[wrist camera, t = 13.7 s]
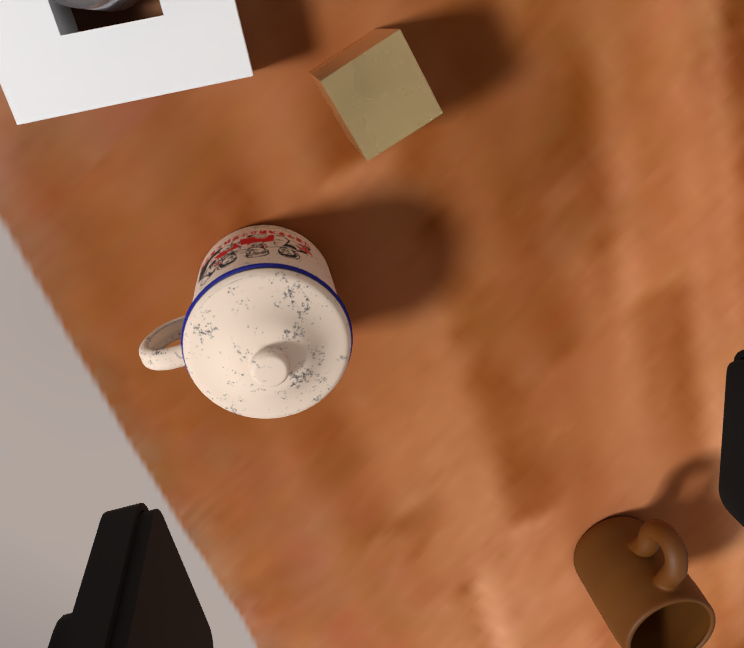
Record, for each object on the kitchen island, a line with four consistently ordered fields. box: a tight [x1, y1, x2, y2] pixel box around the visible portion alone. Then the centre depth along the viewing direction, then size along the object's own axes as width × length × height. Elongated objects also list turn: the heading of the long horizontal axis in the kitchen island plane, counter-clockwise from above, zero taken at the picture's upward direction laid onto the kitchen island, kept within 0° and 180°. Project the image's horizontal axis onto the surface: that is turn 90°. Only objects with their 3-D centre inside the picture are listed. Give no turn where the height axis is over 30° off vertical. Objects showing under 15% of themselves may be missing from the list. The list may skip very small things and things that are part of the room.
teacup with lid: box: [139, 225, 353, 418], centre depth 37 cm, size 12×9×12 cm
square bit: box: [309, 29, 443, 161], centre depth 35 cm, size 4×4×7 cm
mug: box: [574, 516, 715, 648], centre depth 53 cm, size 12×8×9 cm, turn 2°
